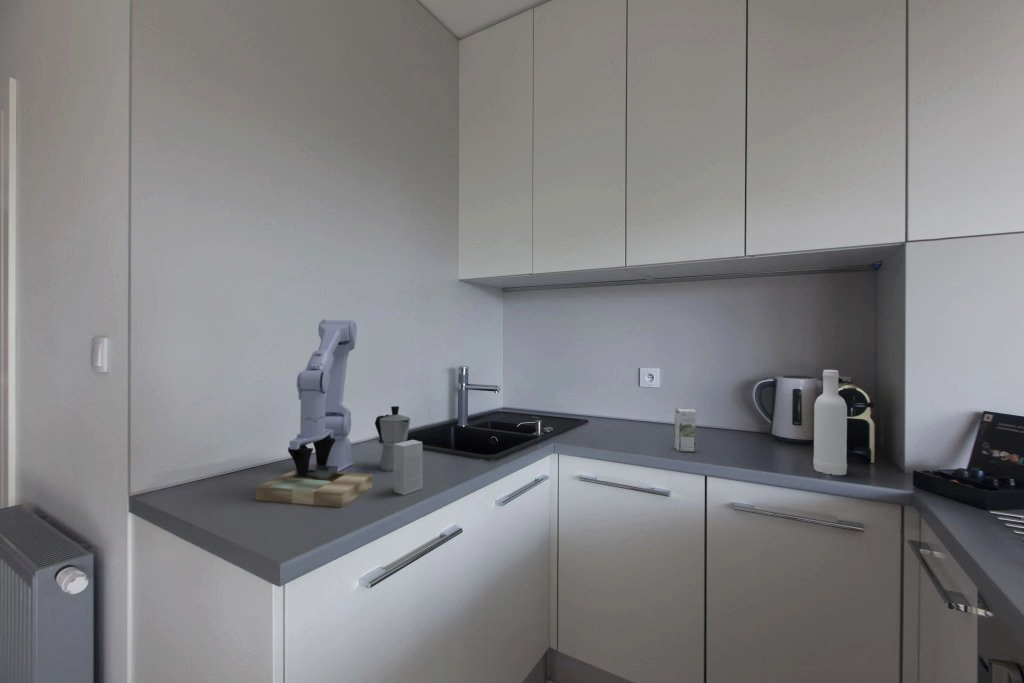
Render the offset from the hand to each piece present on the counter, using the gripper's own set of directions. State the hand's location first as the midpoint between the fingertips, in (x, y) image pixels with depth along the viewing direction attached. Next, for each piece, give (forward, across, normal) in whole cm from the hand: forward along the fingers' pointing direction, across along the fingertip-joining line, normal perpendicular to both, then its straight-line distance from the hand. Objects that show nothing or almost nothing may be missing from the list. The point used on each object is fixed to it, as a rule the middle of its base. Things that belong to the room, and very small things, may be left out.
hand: (312, 470), depth 107 cm
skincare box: (+4, -3, +24) cm, 25 cm away
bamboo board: (+4, +3, +3) cm, 6 cm away
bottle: (+4, -43, +139) cm, 146 cm away
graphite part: (+1, 0, +1) cm, 2 cm away
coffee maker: (+4, -21, +11) cm, 24 cm away
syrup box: (+4, -60, +102) cm, 119 cm away
